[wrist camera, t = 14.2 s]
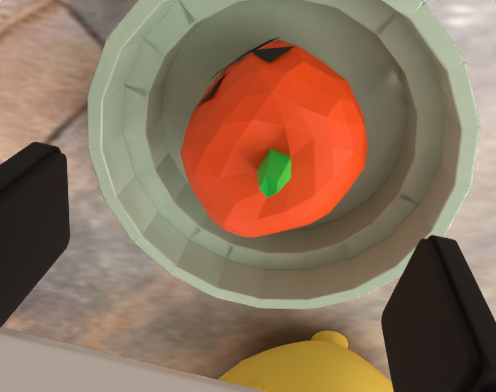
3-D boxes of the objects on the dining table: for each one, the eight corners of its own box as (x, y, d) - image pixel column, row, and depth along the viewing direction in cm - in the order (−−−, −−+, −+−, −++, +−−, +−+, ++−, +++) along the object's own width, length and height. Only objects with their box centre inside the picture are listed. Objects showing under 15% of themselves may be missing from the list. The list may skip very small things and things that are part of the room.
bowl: (146, -88, 17) (85, -103, 12) (503, -8, 16) (570, 5, 12) (130, 209, 24) (87, 265, 20) (376, 271, 23) (388, 342, 19)
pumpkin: (174, 156, 21) (121, 228, 15) (252, 2, 17) (218, 24, 11) (297, 226, 22) (289, 317, 16) (399, 94, 18) (434, 156, 12)
